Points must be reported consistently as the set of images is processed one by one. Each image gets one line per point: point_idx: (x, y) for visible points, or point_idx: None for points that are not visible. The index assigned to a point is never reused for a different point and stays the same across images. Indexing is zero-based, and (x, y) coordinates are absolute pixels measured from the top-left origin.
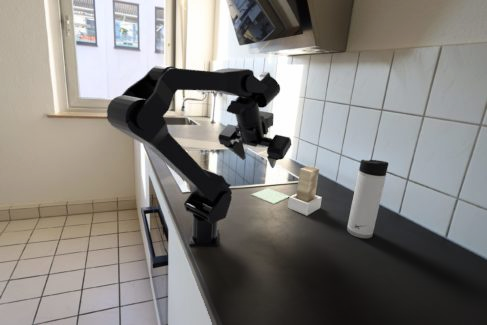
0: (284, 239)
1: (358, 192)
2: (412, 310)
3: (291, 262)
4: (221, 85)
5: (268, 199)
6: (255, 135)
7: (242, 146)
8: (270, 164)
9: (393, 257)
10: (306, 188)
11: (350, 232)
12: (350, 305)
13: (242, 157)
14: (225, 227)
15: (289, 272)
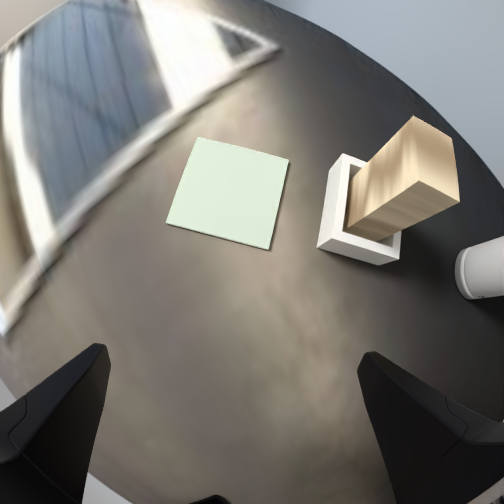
0: (366, 425)
1: None
2: (496, 421)
3: None
4: None
5: (238, 228)
6: None
7: (49, 437)
8: (378, 431)
9: (500, 325)
10: (406, 222)
11: (463, 294)
12: None
13: (102, 399)
14: (217, 472)
15: (390, 490)
